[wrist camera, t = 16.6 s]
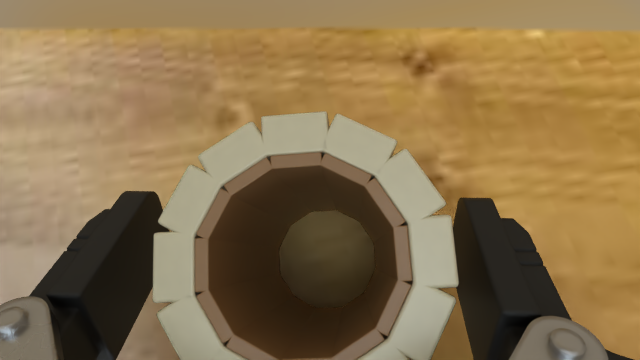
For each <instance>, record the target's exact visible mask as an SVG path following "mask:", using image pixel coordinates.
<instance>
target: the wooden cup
mask: <svg viewBox="0 0 640 360" xmlns="http://www.w3.org/2000/svg"><path fill="white" fill-rule="evenodd" d="M261 125H262V133H261V132H260V130H259V129H258V128H257V126H256V125H255V123H253V122H249V123H247V124H246V125H244V126H242V127H241V128H239V129H238V130H236V131H235V132H233V133H232V134H230V135H229V136H227V137H226V138H224V139H222V140H221V141H219V142H218V143H216V144H215V145H213V146H212V147H210V148H209V149H207V150H206V151H204V152H202V153H201V154H200V155H199V156H198V158H199V161H200V162H201V164H202V166H203V167H204V169H205V171H204V170H202V169H200V168H198V167H196V166H194V165H189V166H188V167H187V169H186V171H185V173H184V175H183V176H182V178H181V180H180V182H179V184H178V185H177V187H176V189H175V191H174V193H173V194H172V196H171V198H170V200H169V202H168V203H167V205H166V207H165V209H164V211H163V212H162V214H161V216H160V218H159V220H158V223H159V224H160V225H162V226H164V227H165V228H167V229H169V230H171V231H173V232H158V233H155V234H154V248H153V302H155V303H165V302H172V303H170V304H169V305H167V306H166V307H164V308H163V309H161V310H160V311H158V313H157V318H158V319H159V321H160V323H161V325H162V327H163V329H164V331H165V332H166V334H167V336H168V338H169V340H170V342H171V344H172V345H173V347H174V349H175V351H176V353H177V355H178V357H179V358H180V360H410V359H412V360H431V357H432V355H433V353H434V351H435V348H436V346H437V344H438V342H439V339H440V337H441V335H442V333H443V330H444V328H445V326H446V324H447V321H448V319H449V317H450V315H451V312H452V310H453V308H454V306H455V303H456V298H455V297H454V296H452V295H450V294H448V293H446V292H444V291H442V290H440V289H438V288H455V287H457V286H458V284H459V279H458V270H457V262H456V253H455V244H454V235H453V226H452V218H451V216H450V215H432V214H434V213H435V212H437V211H438V210H440V209H441V208H443V207H444V206H445V205H446V202H445V200H444V199H443V197H442V196H441V195H440V193H439V192H438V191H437V189H436V188H435V186H434V185H433V184H432V182H431V181H430V180H429V178H428V177H427V176H426V174H425V173H424V171H423V170H422V169H421V167H420V166H419V165H418V163H417V162H416V160H415V159H414V158H413V156H412V155H411V154H410V152H409V151H408V150H407V149H403V150H401V151H400V152H398V153H397V154H395V155H394V156H392V155H393V152H394V150H395V147H396V145H397V141H396V140H395V139H393V138H391V137H389V136H386V135H384V134H382V133H380V132H378V131H375V130H373V129H371V128H369V127H367V126H364V125H362V124H360V123H358V122H356V121H353V120H351V119H349V118H347V117H345V116H342V115H340V114H336V115H335V117H334V119H333V121H332V123H331V125H330V126H329V121H328V115H327V112H325V111H324V112H311V113H299V114H286V115H274V116H263V117H262V118H261ZM328 210H338V211H340V212H342V213H344V214H346V215H348V216H350V217H352V218H354V219H356V220H358V221H359V222H360V223H361V225H362V226H363V228H364V229H365V231H366V232H367V234H368V235H369V236H370V238H371V239H372V241H373V242H374V254H375V267H376V269H375V271H374V273H373V275H372V277H371V280H370V282H369V284H368V286H367V288H366V290H365V292H364V293H363V294H361V295H360V296H358V297H357V298H355V299H354V300H352V301H351V302H350V303H348V304H347V305H345V306H344V307H336V308H315V307H313V306H311V305H309V304H307V303H305V302H304V301H302V300H300V299H298V298H296V297H294V296H293V295H292V293H291V291H290V290H289V288H288V286H287V285H286V283H285V281H284V280H283V278H282V277H281V275H280V264H279V247H280V245H281V243H282V241H283V239H284V237H285V235H286V233H287V231H288V229H289V227H290V225H292V224H293V223H295V222H296V221H298V220H299V219H301V218H302V217H304V216H305V215H307V214H308V213H310V212H312V211H328ZM431 215H432V216H431ZM409 358H410V359H409Z"/></svg>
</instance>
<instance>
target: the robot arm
mask: <svg viewBox="0 0 640 360" xmlns="http://www.w3.org/2000/svg"><path fill="white" fill-rule="evenodd" d="M162 212H163V209H162V206H161V203H160V200H159V197H158V195H157V194H156V193H155V192H151V191H125V192H124V193H122V194H121V196H120V197H119V198H118V200H117V201H116V202H115V204H114V205H113V206H112V208H111V209H105V210H104V211H102V212H101V213H99V214H98V215H97V216H95V217H94V218H92V219H91V220H90V221H88V222H87V224H86V225H85V226H84V227H83V229H82V230H81V231H80V232H79V234H78V235H77V238H76V239H74V240H73V241H72V242H71V244H70V245H69V246H68V248H67V251H64V253H63V254H62V255H61V256H60V258H59V259H58V260H57V261H56V263H55V264H54V265H53V266H52V268H51V269H50V270H49V271H48V273H47V274H46V275H45V277H44V278H43V279H42V280H41V282H40V283H39V284H38V285H37V287H36V288H35V289H34V290H33V292H32V293H31V294H30V295H29V297H21V298H17V299H14V300H11V301H8V302H6V303H4V304H2V305H0V360H116V359H117V357H118V355H119V353H120V351H121V349H122V347H123V345H124V343H125V341H126V339H127V337H128V335H129V333H130V331H131V329H132V327H133V325H134V323H135V321H136V319H137V317H138V315H139V313H140V311H141V309H142V307H143V305H144V303H145V301H146V299H147V297H148V295H149V293H150V291H151V289H152V287H153V248H154V234H155V233H158V232H169V229H167V228H165V227H164V226H162V225H160V224H159V223H158V220H159V218H160V216H161V214H162ZM453 235H454V244H455V253H456V262H457V270H458V279H459V284H458V286H457V287H456V289H457V293H458V297H459V301H460V305H461V309H462V313H463V317H464V321H465V325H466V329H467V333H468V337H469V342H470V346H471V350H472V354H473V358H474V360H633V359H630V358H627V357H624V356H620V355H618V354H615V353H612V352H610V351H608V350H606V349H605V348H604V347H603V345H602V344H601V342H600V341H599V340H598V339H597V338H596V336H595V335H593V334H592V333H591V332H590V331H589V330H587V329H586V328H585V327H583V326H581V325H580V324H578V323H576V322H574V321H572V320H571V318H570V316H569V314H568V312H567V310H566V308H565V306H564V304H563V302H562V300H561V298H560V296H559V294H558V292H557V290H556V288H555V286H554V284H553V282H552V280H551V278H550V276H549V273H548V271H547V269H546V267H545V266H543V261H542V259H541V257H540V255H539V253H538V252H536V247H535V245H534V243H533V241H532V239H531V237H530V235H529V233H528V232H527V231H526V230H525V229H524V228H523V227H522V226H521V225H519V224H518V223H517V222H516V221H515V220H514V219H509V218H500V216H499V213H498V211H497V209H496V206H495V204H494V202H493V200H492V199H491V198H460V199H459V201H458V204H457V209H456V214H455V219H454V225H453Z"/></svg>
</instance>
